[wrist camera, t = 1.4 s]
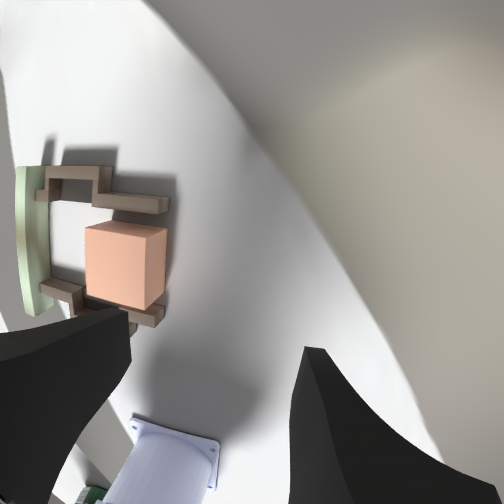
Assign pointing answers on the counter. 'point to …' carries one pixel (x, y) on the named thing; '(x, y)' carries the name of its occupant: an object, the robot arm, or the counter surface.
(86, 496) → the coffee jar
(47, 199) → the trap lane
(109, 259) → the block
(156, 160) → the counter surface
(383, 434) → the robot arm
